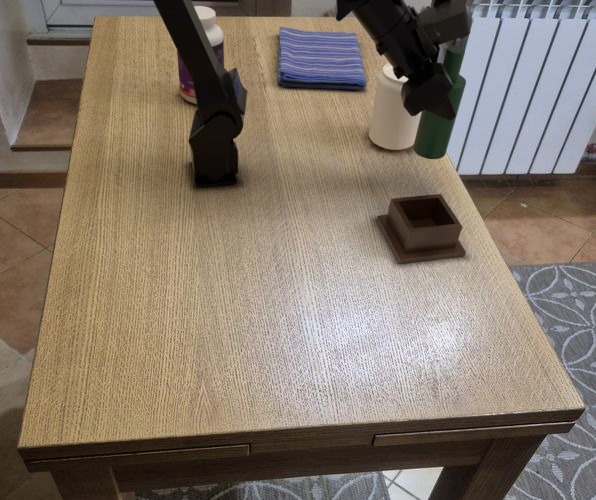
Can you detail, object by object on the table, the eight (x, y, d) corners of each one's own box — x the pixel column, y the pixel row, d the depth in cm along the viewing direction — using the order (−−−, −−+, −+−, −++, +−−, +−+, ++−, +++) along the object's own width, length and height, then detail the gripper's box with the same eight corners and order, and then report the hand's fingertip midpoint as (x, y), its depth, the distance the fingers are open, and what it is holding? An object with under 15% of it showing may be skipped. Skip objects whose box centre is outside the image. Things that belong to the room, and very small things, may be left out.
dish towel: (277, 88, 116) (277, 73, 114) (277, 35, 132) (277, 21, 130) (367, 93, 117) (369, 78, 115) (356, 40, 133) (358, 26, 131)
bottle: (429, 162, 91) (456, 61, 80) (406, 146, 93) (429, 45, 82) (452, 153, 93) (482, 53, 82) (429, 138, 96) (455, 38, 84)
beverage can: (389, 157, 103) (403, 88, 94) (358, 135, 107) (369, 66, 98) (423, 144, 107) (440, 76, 97) (393, 123, 111) (406, 56, 102)
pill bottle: (187, 109, 109) (180, 24, 98) (175, 88, 114) (168, 4, 103) (230, 104, 111) (229, 20, 100) (217, 83, 116) (215, 1, 105)
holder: (399, 263, 86) (405, 238, 82) (376, 219, 92) (381, 194, 88) (464, 256, 88) (473, 230, 84) (437, 213, 94) (444, 188, 90)
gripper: (455, 6, 69) (517, 106, 78) (432, -50, 81) (488, 43, 90) (374, 70, 75) (441, 157, 84) (363, 9, 87) (422, 91, 96)
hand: (449, 108), depth 88 cm, fingers closed on bottle, 5 cm apart
